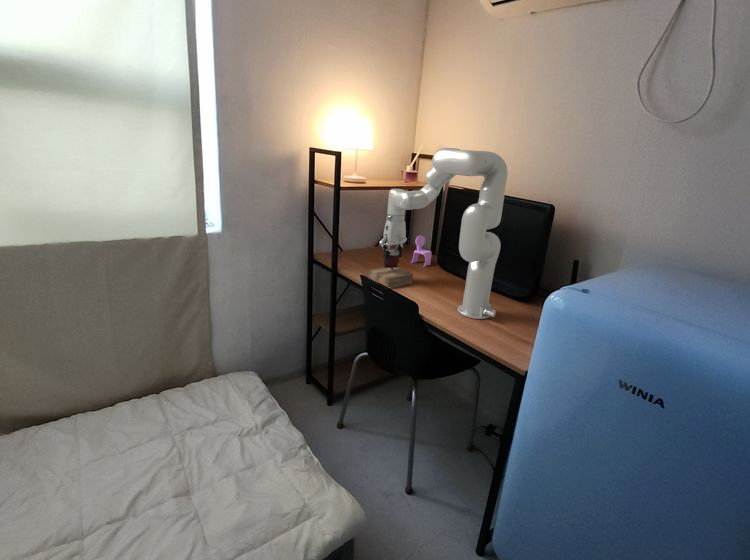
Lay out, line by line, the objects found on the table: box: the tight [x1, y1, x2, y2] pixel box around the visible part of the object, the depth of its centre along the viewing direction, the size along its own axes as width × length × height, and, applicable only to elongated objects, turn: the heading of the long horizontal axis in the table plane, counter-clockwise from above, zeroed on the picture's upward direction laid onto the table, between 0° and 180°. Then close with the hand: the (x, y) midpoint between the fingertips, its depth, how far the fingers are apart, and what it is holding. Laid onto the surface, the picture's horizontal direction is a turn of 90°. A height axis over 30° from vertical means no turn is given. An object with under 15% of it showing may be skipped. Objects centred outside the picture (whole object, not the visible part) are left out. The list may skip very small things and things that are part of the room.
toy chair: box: [410, 234, 433, 268], centre depth 215 cm, size 8×9×15 cm
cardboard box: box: [368, 266, 413, 289], centre depth 186 cm, size 14×14×5 cm
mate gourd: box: [383, 237, 405, 269], centre depth 183 cm, size 8×8×15 cm
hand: (392, 257), depth 183 cm, fingers closed on mate gourd, 7 cm apart
